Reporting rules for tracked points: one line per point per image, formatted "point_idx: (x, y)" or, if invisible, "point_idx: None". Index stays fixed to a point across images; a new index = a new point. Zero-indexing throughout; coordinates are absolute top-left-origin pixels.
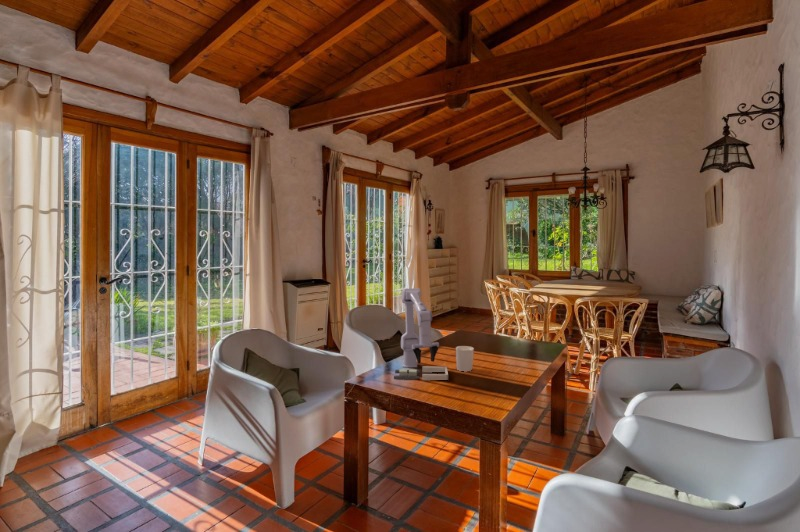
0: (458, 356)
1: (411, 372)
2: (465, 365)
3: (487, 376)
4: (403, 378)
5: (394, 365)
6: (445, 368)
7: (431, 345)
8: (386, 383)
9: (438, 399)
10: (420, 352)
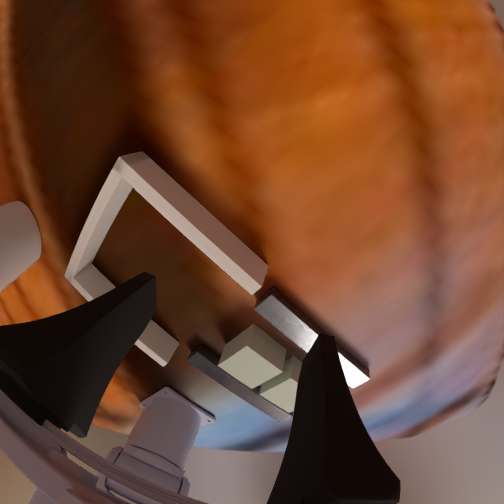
0: None
1: (271, 359)
2: (6, 216)
3: (5, 112)
4: (339, 347)
5: (229, 438)
6: (77, 262)
7: (49, 451)
8: (438, 349)
9: None
10: (335, 455)
